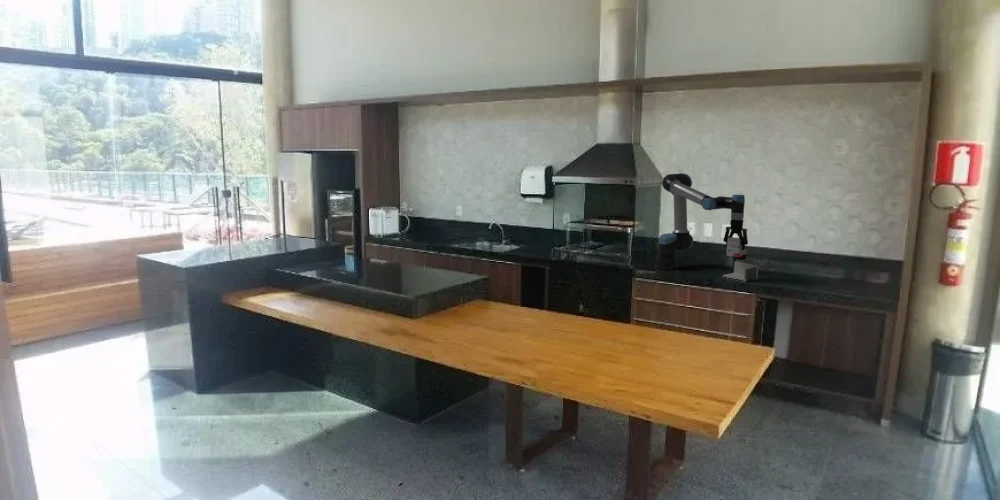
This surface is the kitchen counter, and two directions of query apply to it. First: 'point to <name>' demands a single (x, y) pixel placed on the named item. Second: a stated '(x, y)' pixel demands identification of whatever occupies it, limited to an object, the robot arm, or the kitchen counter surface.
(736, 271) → the shelf
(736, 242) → the ink box
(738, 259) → the coffee cup
